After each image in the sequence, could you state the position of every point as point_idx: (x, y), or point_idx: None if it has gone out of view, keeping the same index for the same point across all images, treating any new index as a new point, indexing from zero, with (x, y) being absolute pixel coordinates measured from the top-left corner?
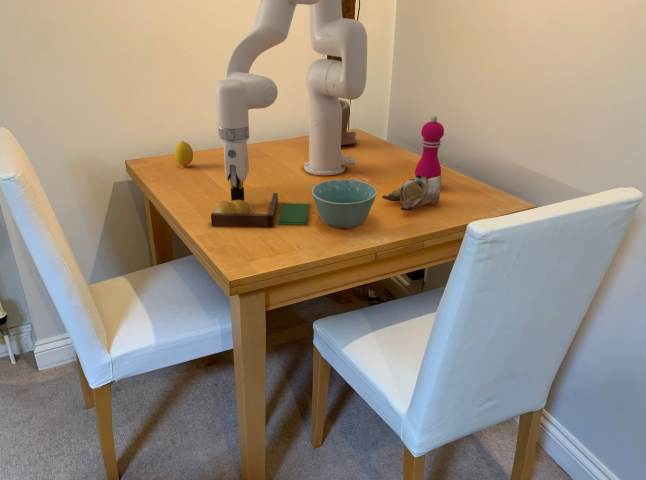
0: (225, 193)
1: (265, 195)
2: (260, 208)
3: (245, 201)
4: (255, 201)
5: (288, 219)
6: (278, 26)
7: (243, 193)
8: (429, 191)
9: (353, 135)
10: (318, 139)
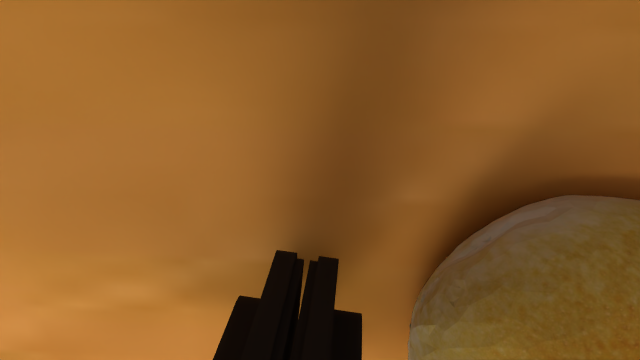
0: (68, 346)
1: (23, 2)
2: (426, 72)
3: (577, 313)
4: (217, 123)
5: None
6: None
7: (279, 315)
8: None
9: None
10: None
